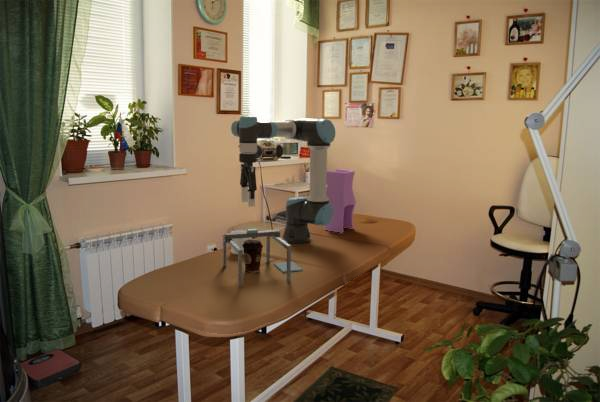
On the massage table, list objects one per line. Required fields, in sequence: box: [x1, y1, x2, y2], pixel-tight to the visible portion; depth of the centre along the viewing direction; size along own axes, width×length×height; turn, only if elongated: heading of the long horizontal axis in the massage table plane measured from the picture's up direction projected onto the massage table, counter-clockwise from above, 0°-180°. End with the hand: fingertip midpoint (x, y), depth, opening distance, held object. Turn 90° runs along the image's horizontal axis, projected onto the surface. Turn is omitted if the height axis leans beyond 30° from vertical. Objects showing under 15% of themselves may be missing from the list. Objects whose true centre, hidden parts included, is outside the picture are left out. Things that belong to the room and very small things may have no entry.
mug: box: [230, 229, 254, 256], centre depth 233 cm, size 12×8×10 cm
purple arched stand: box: [323, 168, 356, 234], centre depth 282 cm, size 14×14×35 cm
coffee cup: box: [242, 239, 264, 273], centre depth 207 cm, size 9×8×13 cm
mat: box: [273, 261, 303, 273], centre depth 213 cm, size 12×9×1 cm
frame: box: [222, 232, 292, 288], centre depth 202 cm, size 28×22×15 cm
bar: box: [222, 228, 281, 244], centre depth 205 cm, size 3×24×5 cm, turn 112°
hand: (248, 204), depth 209 cm, fingers open, 10 cm apart
